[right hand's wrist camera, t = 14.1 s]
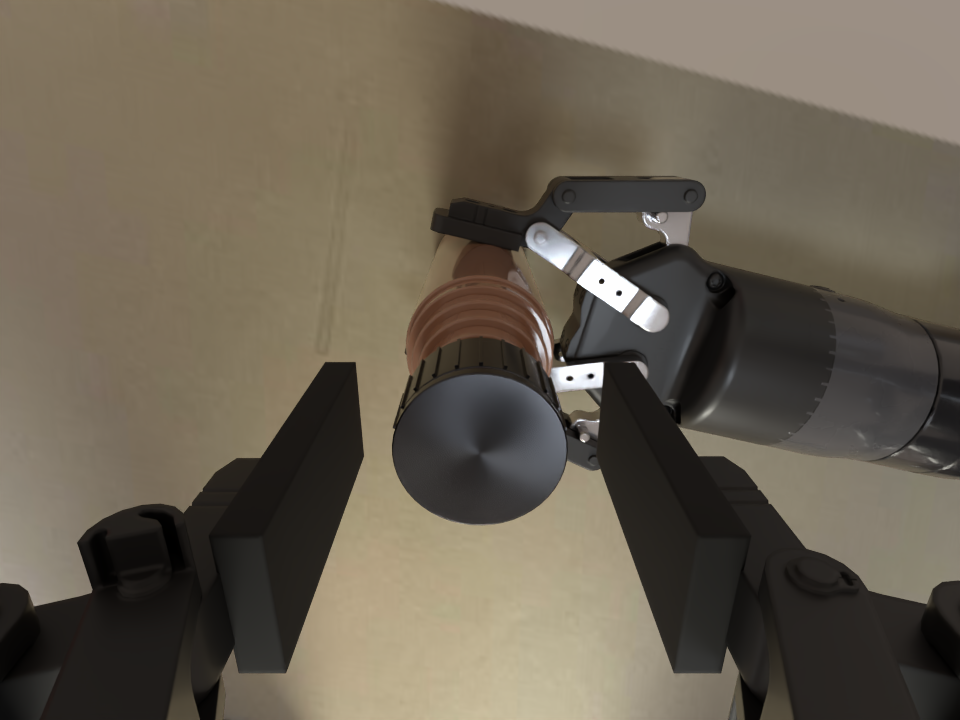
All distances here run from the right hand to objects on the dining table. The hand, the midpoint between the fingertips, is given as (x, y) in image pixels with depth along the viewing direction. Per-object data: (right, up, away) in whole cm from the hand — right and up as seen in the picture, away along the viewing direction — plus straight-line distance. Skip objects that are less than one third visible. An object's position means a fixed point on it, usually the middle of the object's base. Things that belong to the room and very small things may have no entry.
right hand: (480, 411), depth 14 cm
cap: (0, -1, -2) cm, 2 cm away
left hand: (-2, +5, +10) cm, 11 cm away
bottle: (0, +7, +16) cm, 17 cm away
